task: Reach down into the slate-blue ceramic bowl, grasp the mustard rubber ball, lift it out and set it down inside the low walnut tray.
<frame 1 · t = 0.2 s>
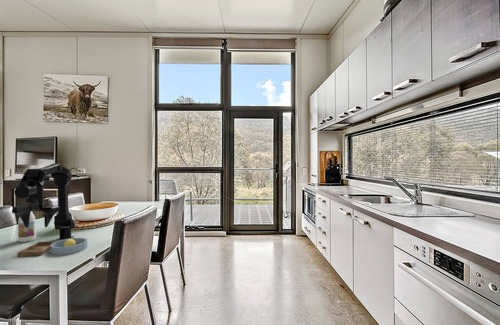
hand: (36, 227, 128), 14 cm above the table, fingers open, 9 cm apart
tray: (39, 251, 135), on the table
bowl: (69, 250, 137), on the table
ball: (69, 248, 137), point 1 cm above the table, touching bowl
milk bottle: (27, 240, 153), on the table
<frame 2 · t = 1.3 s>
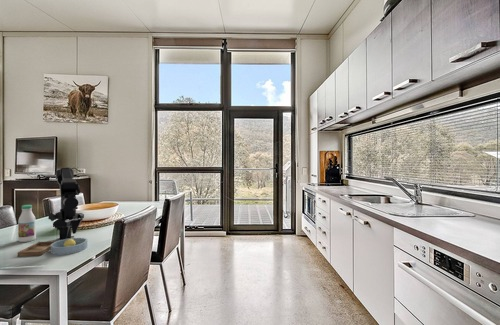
hand: (69, 236, 137), 7 cm above the table, fingers open, 9 cm apart
nothing on the table moved.
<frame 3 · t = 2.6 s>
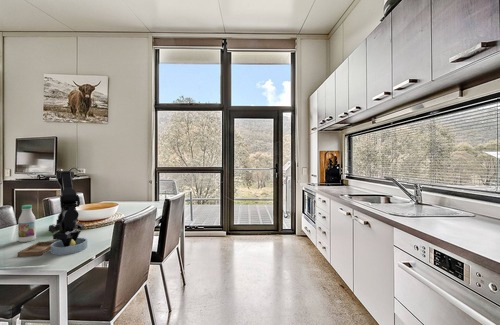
hand: (69, 247, 137), 1 cm above the table, fingers closed on ball, 5 cm apart
ball: (69, 248, 137), point 1 cm above the table, touching bowl, gripper
everything else where it was.
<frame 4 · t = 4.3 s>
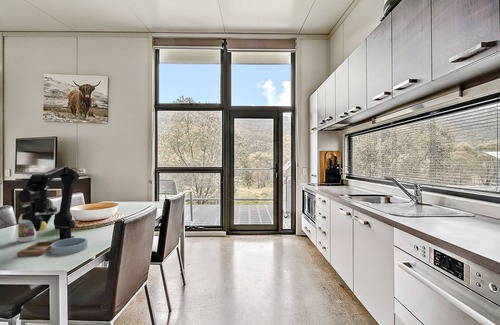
hand: (40, 229, 135), 11 cm above the table, fingers closed on ball, 5 cm apart
ball: (40, 231, 135), point 10 cm above the table, touching gripper
everything else where it was.
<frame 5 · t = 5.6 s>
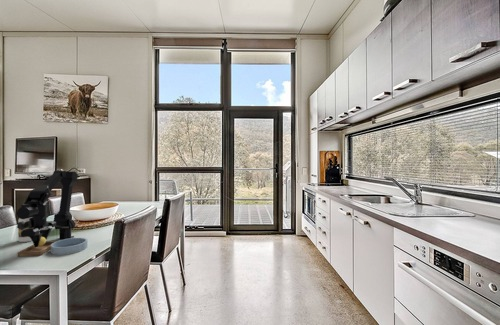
hand: (39, 245, 135), 3 cm above the table, fingers closed on ball, 5 cm apart
ball: (39, 246, 135), point 2 cm above the table, touching gripper
everything else where it was.
when the fingers open (3 cm above the table, at t = 6.3 s): ball drops 1 cm, resting on tray.
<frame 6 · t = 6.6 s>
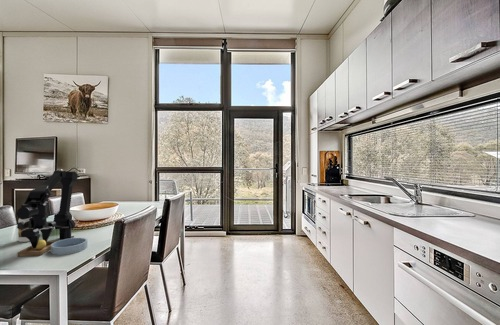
hand: (39, 245, 135), 3 cm above the table, fingers open, 8 cm apart
ball: (39, 249, 135), point 1 cm above the table, touching tray
everything else where it was.
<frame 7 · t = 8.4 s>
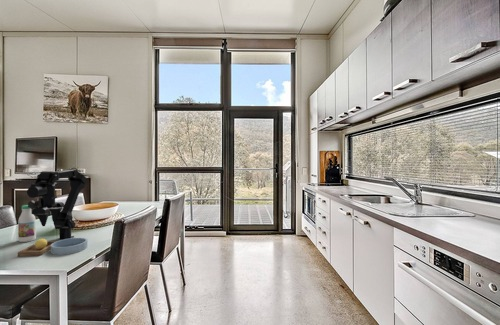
hand: (49, 223, 143), 12 cm above the table, fingers open, 9 cm apart
ball: (39, 248, 135), point 1 cm above the table, tilted 26°, touching tray
everything else where it was.
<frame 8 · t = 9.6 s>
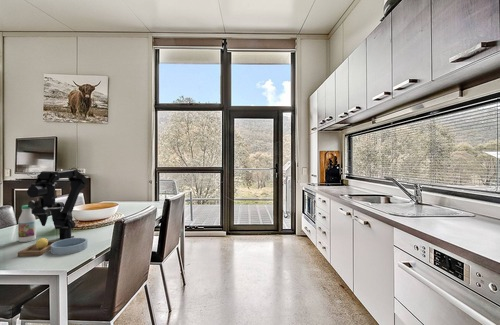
hand: (49, 223, 143), 12 cm above the table, fingers open, 9 cm apart
ball: (39, 248, 136), point 2 cm above the table, tilted 40°, touching tray
everything else where it was.
at the end: ball inside the target area on the tray (0.1 cm from its centre), point 1.6 cm above the tray's base; ball point 1.6 cm above the table; the gripper is holding nothing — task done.
